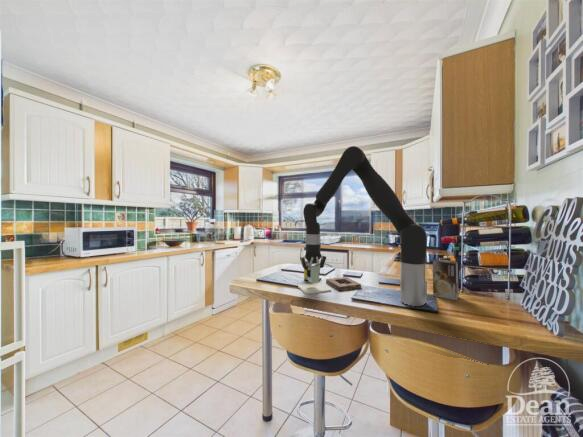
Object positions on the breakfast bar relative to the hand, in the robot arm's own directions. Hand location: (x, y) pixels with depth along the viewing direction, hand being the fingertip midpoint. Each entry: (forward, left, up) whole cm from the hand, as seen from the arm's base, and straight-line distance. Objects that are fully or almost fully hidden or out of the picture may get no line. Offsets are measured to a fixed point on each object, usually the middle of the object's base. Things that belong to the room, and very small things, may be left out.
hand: (313, 276), depth 118 cm
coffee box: (-52, +30, -7) cm, 60 cm away
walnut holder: (-17, 0, -6) cm, 18 cm away
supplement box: (-5, -15, -7) cm, 17 cm away
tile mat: (0, 0, -6) cm, 6 cm away
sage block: (0, 0, -2) cm, 2 cm away
